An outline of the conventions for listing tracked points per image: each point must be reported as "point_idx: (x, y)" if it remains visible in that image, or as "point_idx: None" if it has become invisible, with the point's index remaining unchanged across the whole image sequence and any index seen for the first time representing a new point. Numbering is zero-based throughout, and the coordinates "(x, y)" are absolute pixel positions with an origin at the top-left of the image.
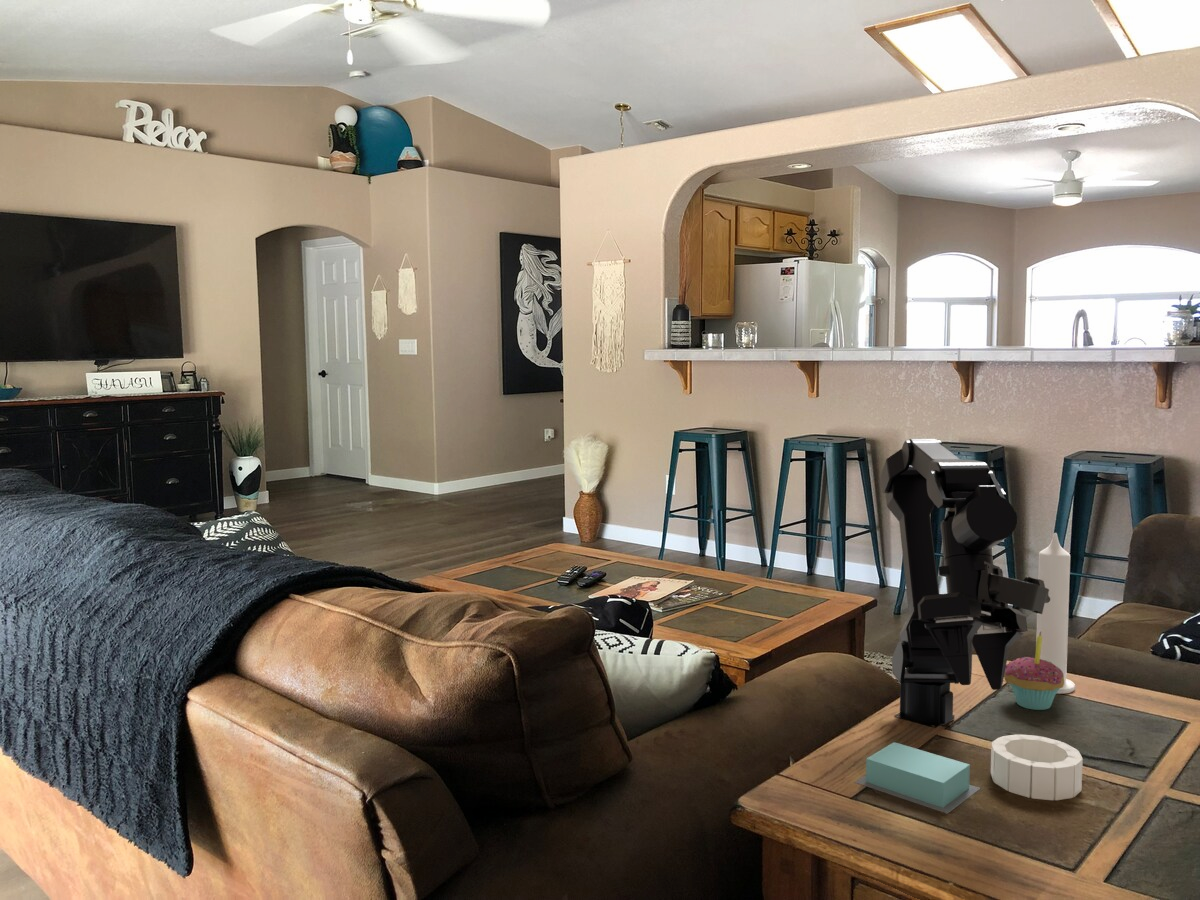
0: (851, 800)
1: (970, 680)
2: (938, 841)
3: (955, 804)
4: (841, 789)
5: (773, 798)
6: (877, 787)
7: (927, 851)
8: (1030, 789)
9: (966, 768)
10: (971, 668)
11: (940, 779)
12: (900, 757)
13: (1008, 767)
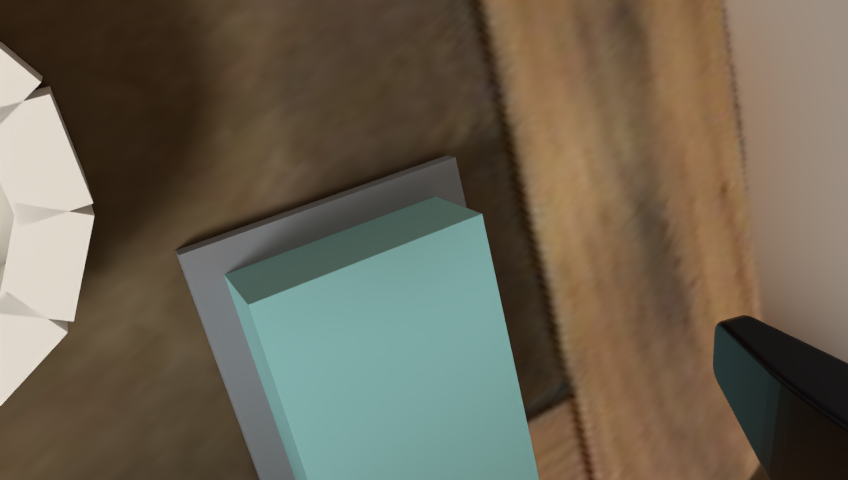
0: (580, 381)
1: (746, 332)
2: (576, 60)
3: (380, 194)
4: (554, 453)
5: (713, 462)
6: None
7: (639, 36)
8: (34, 92)
9: (278, 290)
10: (817, 390)
11: (467, 243)
12: (439, 466)
13: (87, 205)
